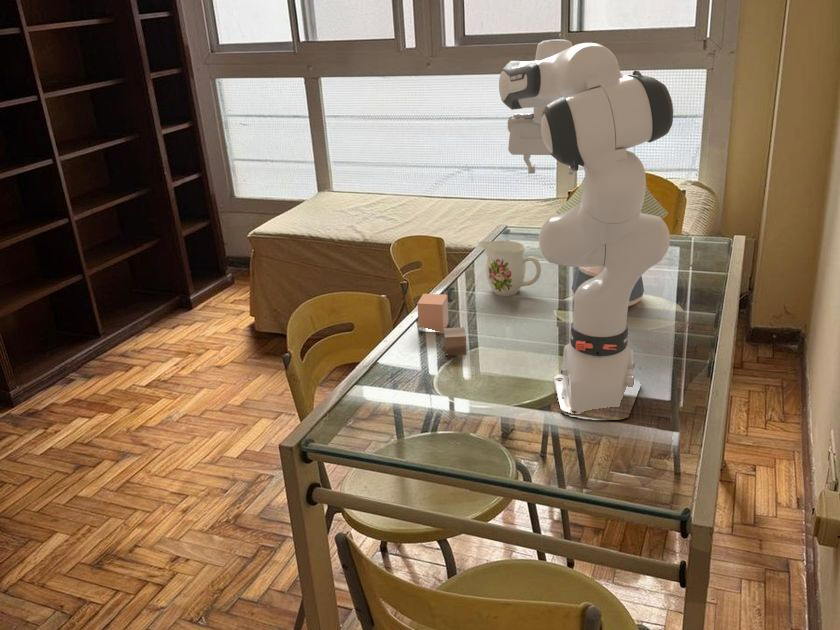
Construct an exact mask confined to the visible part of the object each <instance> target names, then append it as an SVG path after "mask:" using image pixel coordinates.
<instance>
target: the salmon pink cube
mask: <svg viewBox="0 0 840 630" xmlns="http://www.w3.org/2000/svg"><path fill="white" fill-rule="evenodd" d="M448 295H449V294H440V293H439V294H436V293H422V294H421V296H420V299H419V300H418V302H417V317H418V318H417V320H418V328H419V327H424V328H428V329H432V330H435V331H440V332H444V328H448V325H449V301H448Z"/></svg>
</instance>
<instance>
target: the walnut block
mask: <svg viewBox="0 0 840 630" xmlns="http://www.w3.org/2000/svg"><path fill="white" fill-rule="evenodd" d="M443 338H444V339H443V341H444V343H443V345H445V346H444V353H445V354H448V355H451V356H462V355H463V356H464V355H467V335H466V329H465V327H464V326H463V327H462V326H461V327H446V328H444V334H443Z"/></svg>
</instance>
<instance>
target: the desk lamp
mask: <svg viewBox="0 0 840 630" xmlns="http://www.w3.org/2000/svg"><path fill="white" fill-rule="evenodd" d="M628 151H629V152H631V153H633V154H635V155H636V153H634V152H632V151H630V150H628ZM584 180H585V176H584V177H583V179H582V181H581V183H580V184H579V186H578V188H577V189H576V190H575V191H574V193H573V194H572V195H571V196H570V197H569V198H568V199H567V200H566V201H565V202H564V204H563V205H562V206H561V207H559V209H557V211H556V212H555V213H556V214H557V215H559V214H562V213H564V212H566V211H568V210H570V209H572V208H573V207H575V206H576V205H578V204H579V203H580V200H581V194H582V188H583V184H584ZM640 213H644V214H649V215H654V216H659V217H660V218H661V219H662V220H664V218H665V217H667V216H668V214H669V212H668V211H667V210H666V209H665V208H664V207H663V205H661V204H660V203H659V201H658V200H657V199H656V197H655V196H654V195H653V194H652V193H651V191H650V190H649V188H648V186H647V185H646V191H645V197H644V202H643V205H642V209H641V212H640ZM604 269H605V267H576V270H575V274H574V278H573V281H572V286H571V290H572V292H571V293H572V296H573V297H574V295H575V292H576V290H577V289H578V287H579V286H580V285H581V284H583V283H584V282H585V281H587V280H589V279H591V278H594V277H596V276H597V275H599V274H600V273H601V272H602V271H603V270H604ZM644 292H645V289H644V282H643V275H642V276H641V277H640V278H639V279H638V281H637V282H636V284H635V285H634V287H633V289H632V292H631V295H630V298H629V304H628V307H631V306H633V305H635V304H637V303H638V302H640V301H642V300H643V297H644Z"/></svg>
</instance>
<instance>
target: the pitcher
mask: <svg viewBox="0 0 840 630" xmlns="http://www.w3.org/2000/svg"><path fill="white" fill-rule="evenodd" d="M477 245H478V246H480V247H481V248H483V250H484V252H485V254H486V256H487V258H486V263H485V272H486V278H487V282H488V284H489V287H490V289H491V290H492V291H493V292H494V293H495V294H496V295H498V296H503V297H504V296H505V297H506V296H514V295H516V294H517V293H518V292H519V290H520V289H521V288H522V287H527V286H531V285H533V284H535V283H536V282H537V281H538V280H539V279H540V276H541V274H542V273H541V272H542V267H541V263H540V261H539V259H538V258H536V257H535V256H532V255H531V256H526V257H524V252H525V245H523V243H521V242H517V241H512V240H494V241H479V242H477ZM527 262H532V263H533V264H534V265H535V269H536V272H535V276H534V277H533V278H531V279H529V280H525V276H526V263H527Z"/></svg>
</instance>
